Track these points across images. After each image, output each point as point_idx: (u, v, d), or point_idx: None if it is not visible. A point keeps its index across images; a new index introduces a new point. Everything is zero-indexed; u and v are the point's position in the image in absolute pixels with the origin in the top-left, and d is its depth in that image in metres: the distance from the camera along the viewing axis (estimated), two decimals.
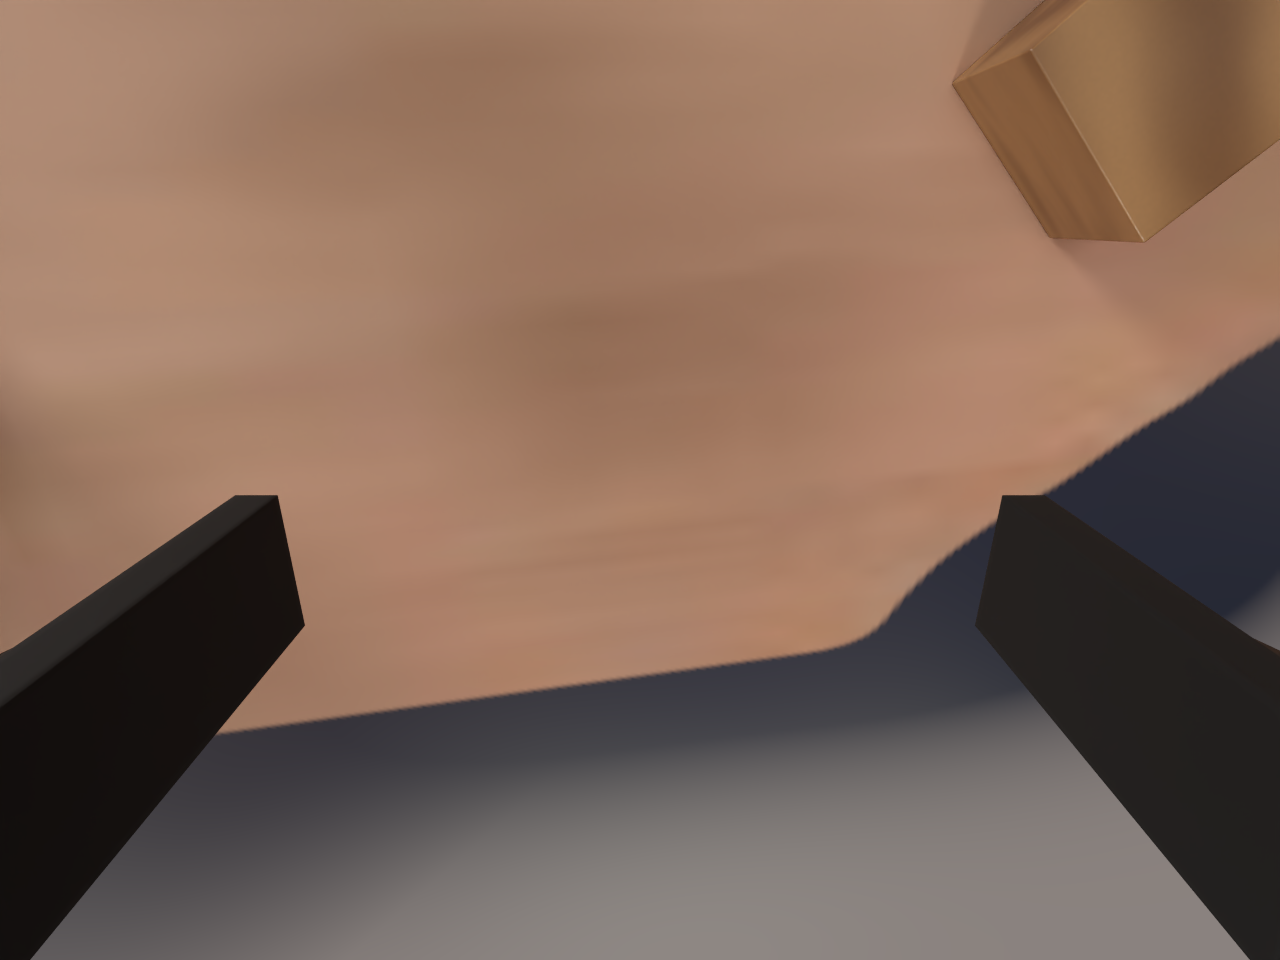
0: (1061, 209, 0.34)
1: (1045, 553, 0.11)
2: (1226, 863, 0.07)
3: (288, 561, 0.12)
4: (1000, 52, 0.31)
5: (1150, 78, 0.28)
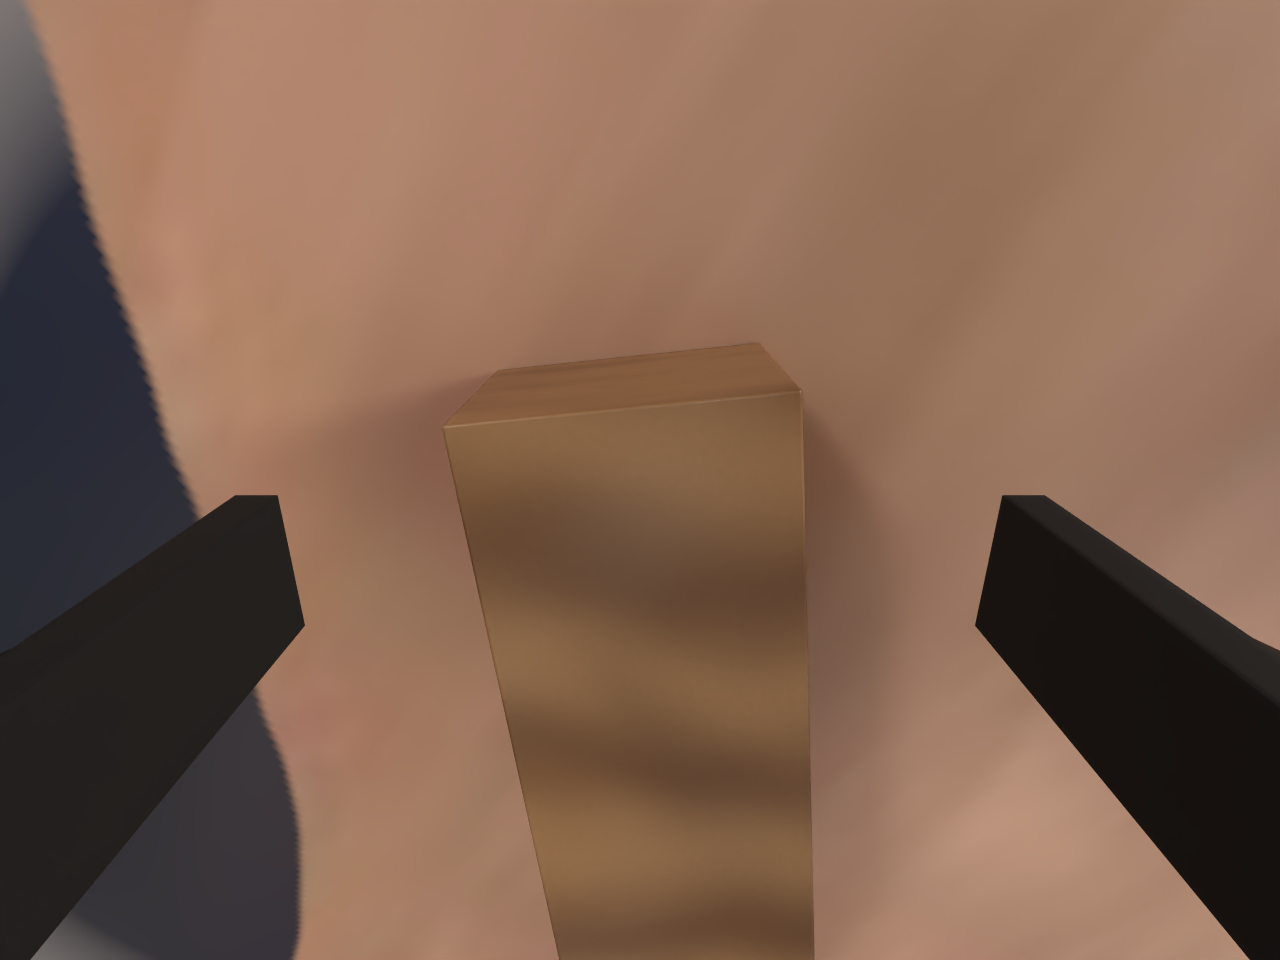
0: (535, 381, 0.23)
1: (1045, 553, 0.11)
2: (1226, 863, 0.07)
3: (288, 561, 0.12)
4: None
5: (658, 510, 0.19)
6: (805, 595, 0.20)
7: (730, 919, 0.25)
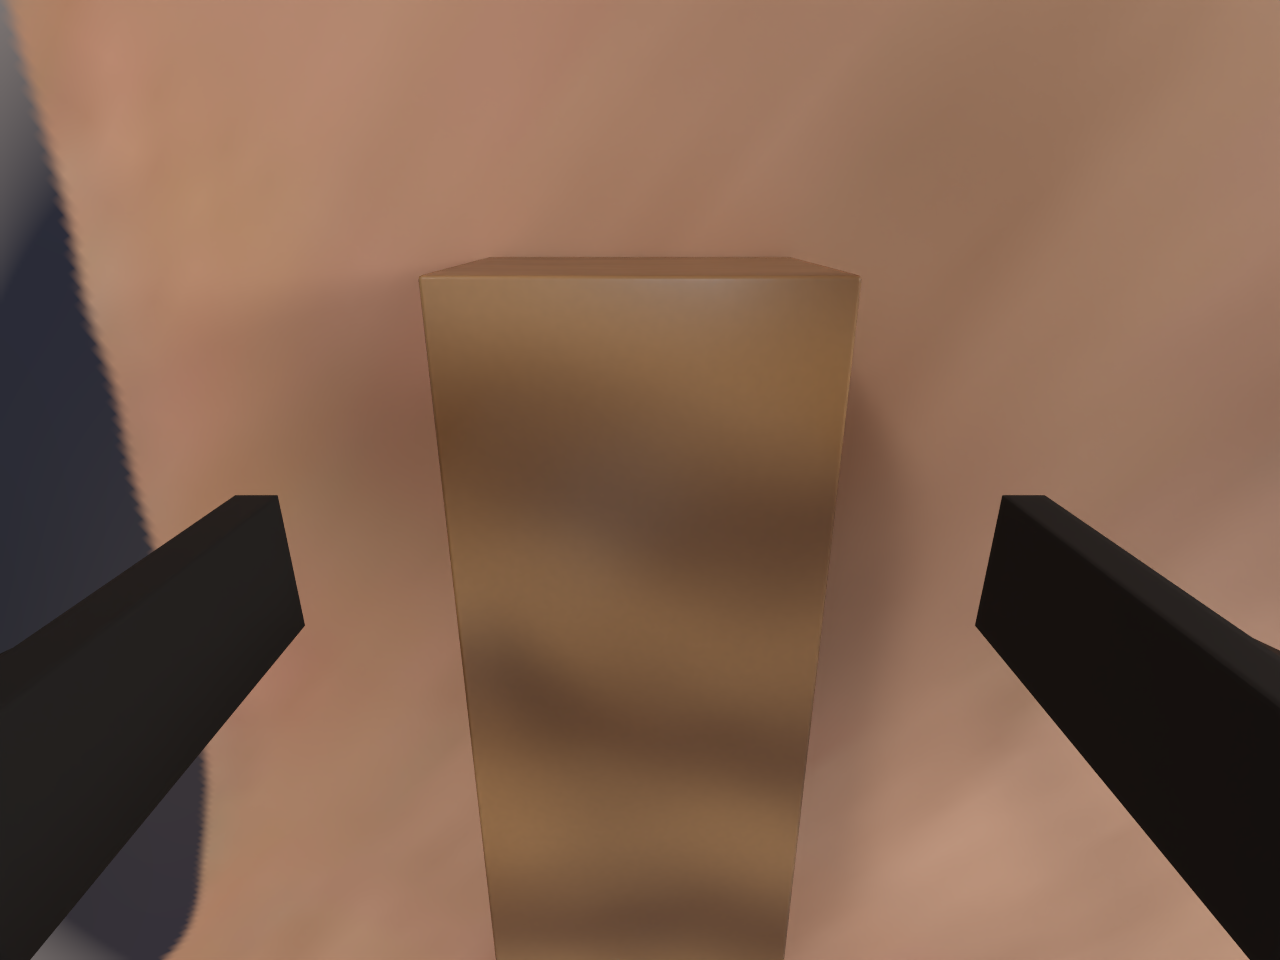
0: (534, 262, 0.19)
1: (1045, 553, 0.11)
2: (1226, 863, 0.07)
3: (288, 561, 0.12)
4: None
5: (671, 412, 0.16)
6: (831, 534, 0.17)
7: (695, 911, 0.22)
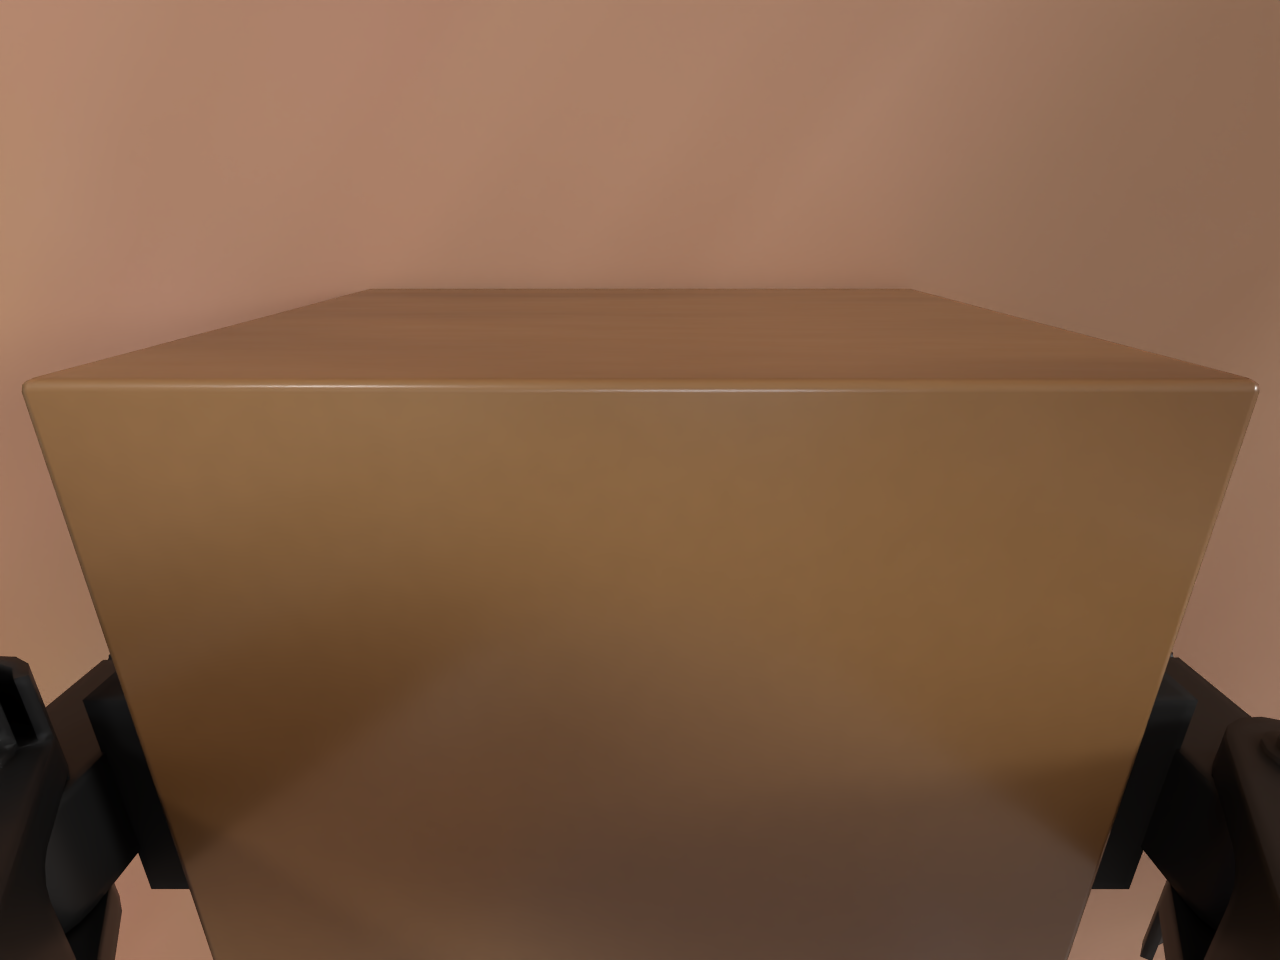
0: (428, 307, 0.10)
1: None
2: None
3: None
4: None
5: (718, 704, 0.06)
6: (1073, 935, 0.08)
7: None
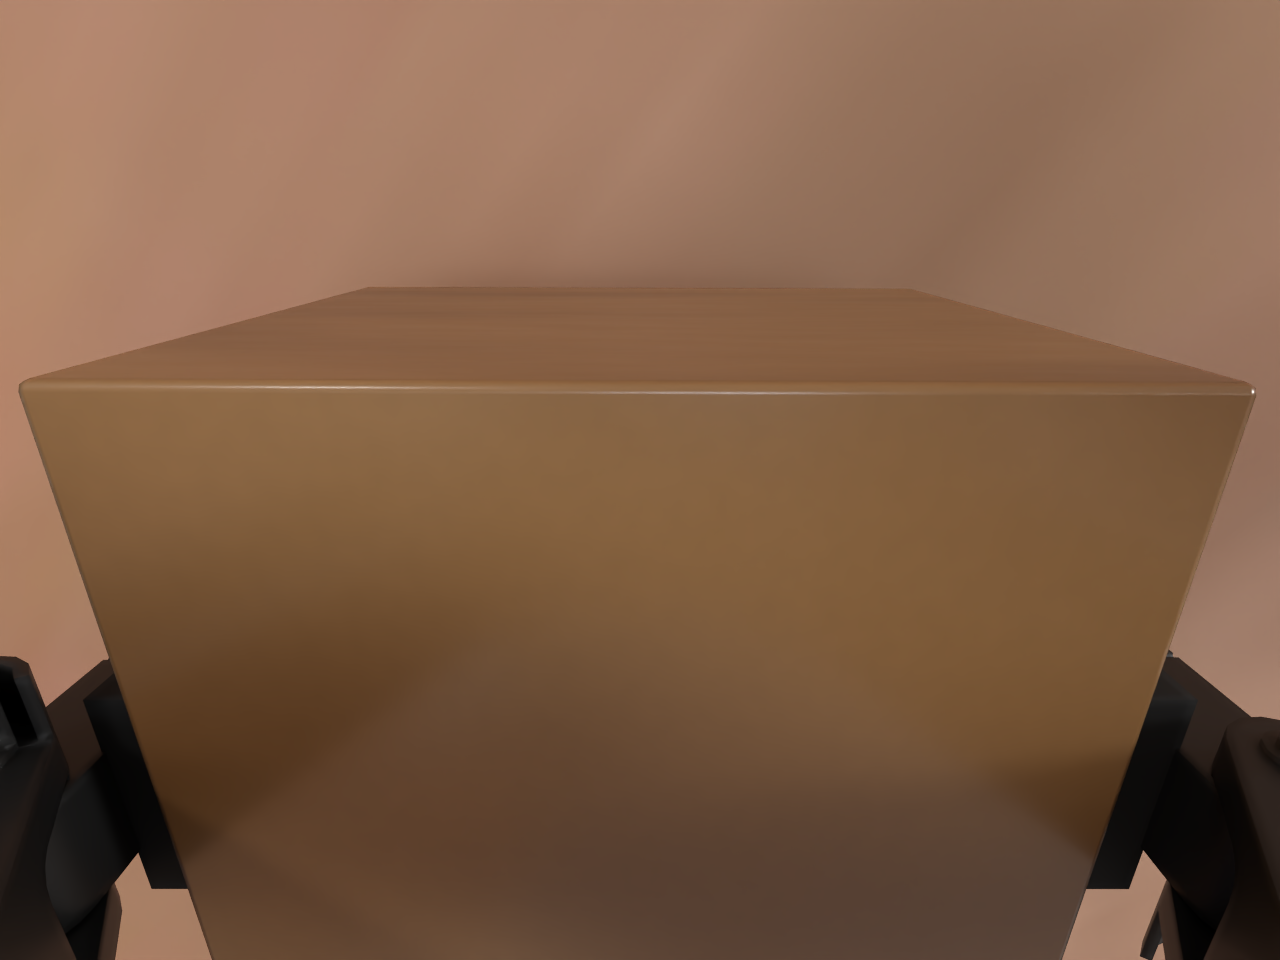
0: (426, 306, 0.10)
1: None
2: None
3: None
4: None
5: (716, 704, 0.06)
6: (1068, 934, 0.08)
7: None
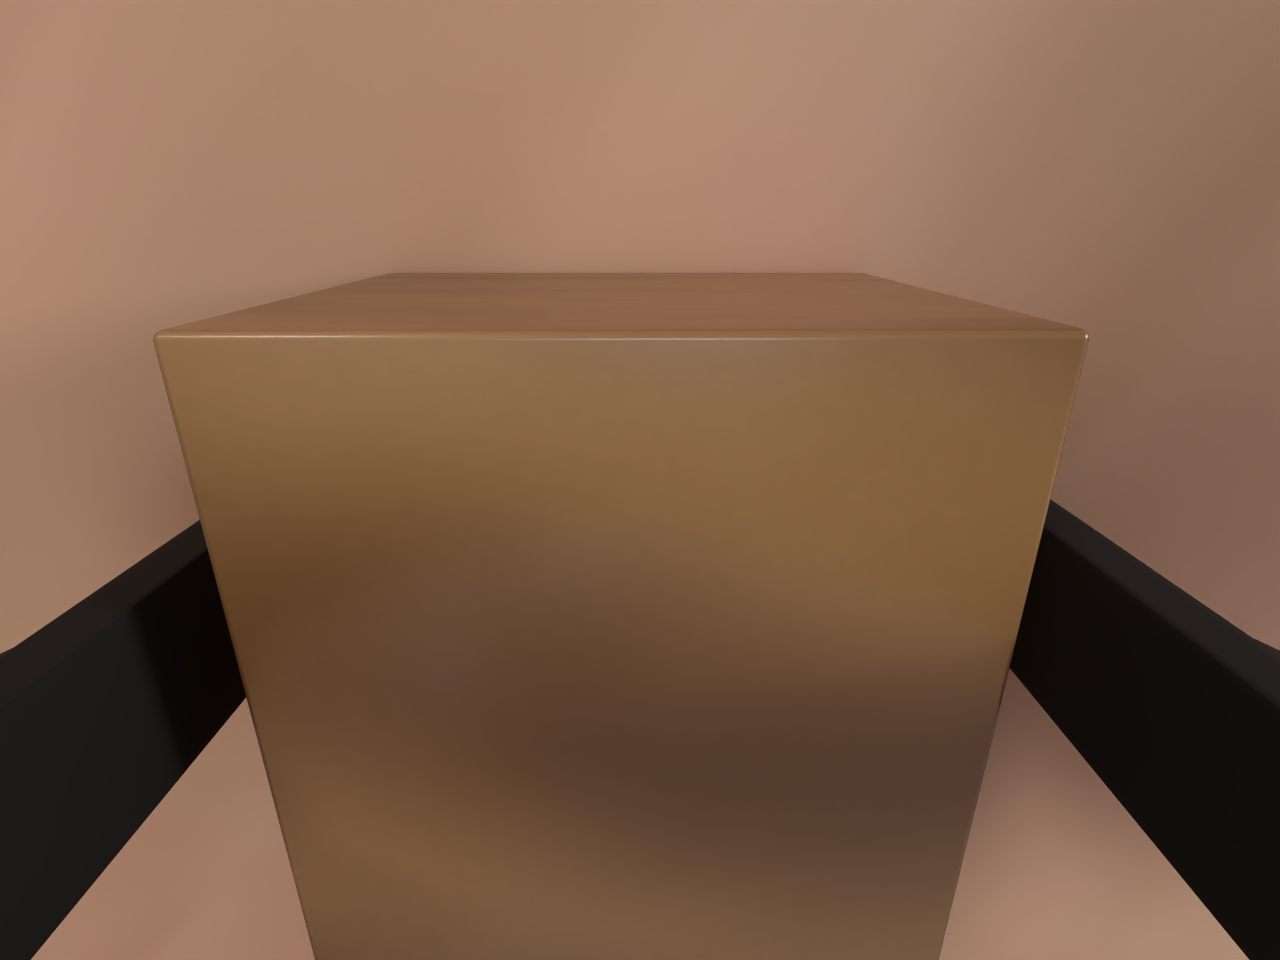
0: (446, 286, 0.11)
1: (1044, 553, 0.11)
2: (1226, 863, 0.07)
3: None
4: None
5: (690, 591, 0.08)
6: (978, 788, 0.09)
7: None
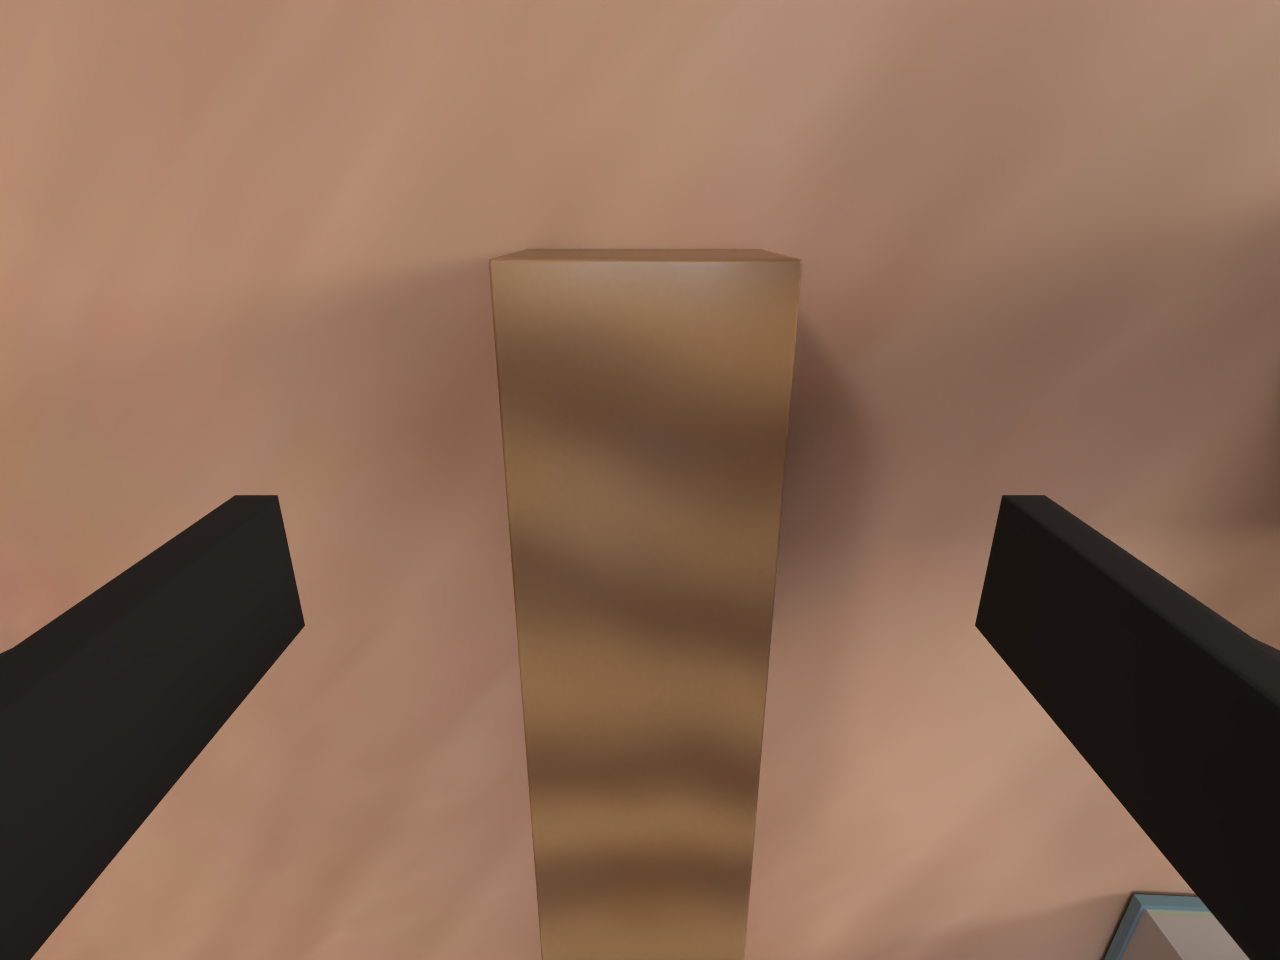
0: (564, 252, 0.26)
1: (1045, 553, 0.11)
2: (1226, 863, 0.07)
3: (288, 561, 0.12)
4: None
5: (668, 358, 0.22)
6: (785, 451, 0.24)
7: (687, 760, 0.28)
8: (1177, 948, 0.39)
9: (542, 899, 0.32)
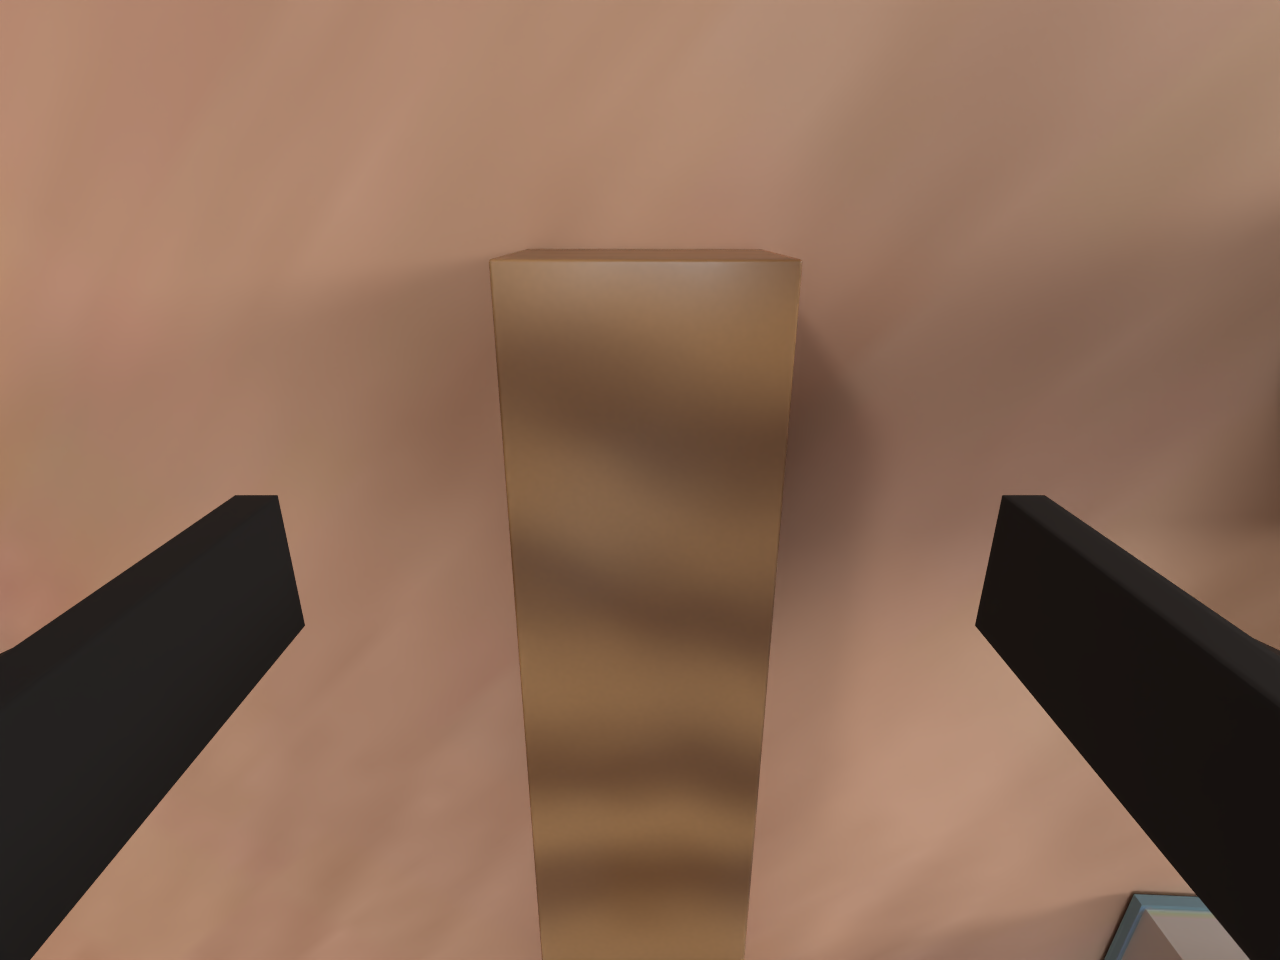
0: (564, 252, 0.26)
1: (1045, 553, 0.11)
2: (1226, 863, 0.07)
3: (288, 561, 0.12)
4: None
5: (668, 358, 0.22)
6: (785, 451, 0.24)
7: (687, 760, 0.28)
8: (1177, 948, 0.39)
9: (542, 899, 0.32)
